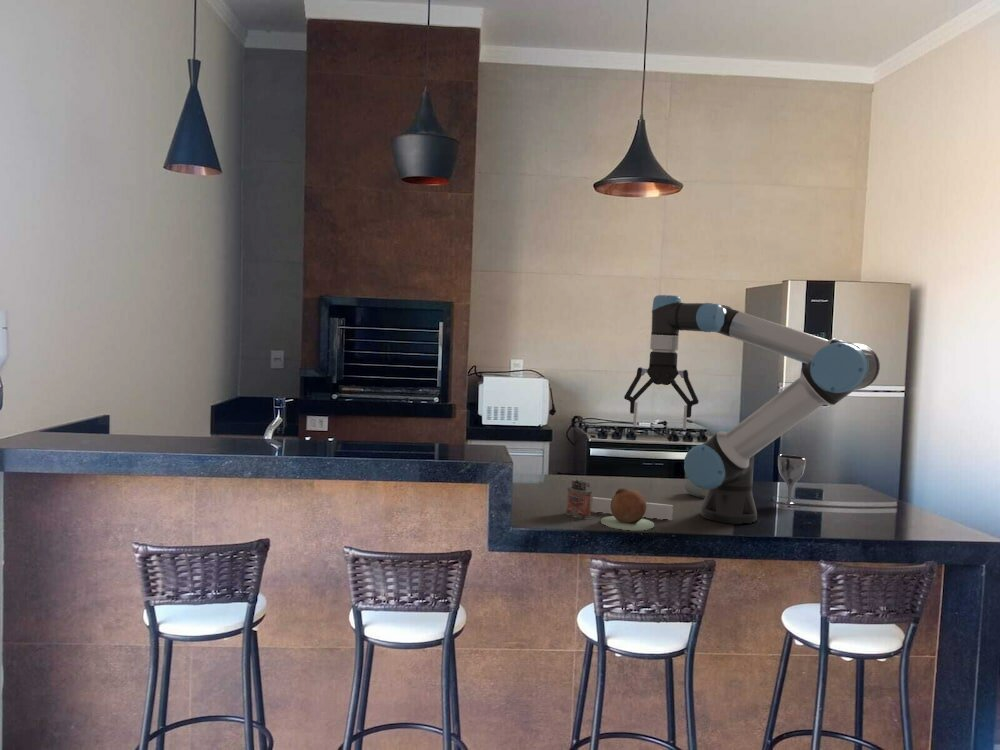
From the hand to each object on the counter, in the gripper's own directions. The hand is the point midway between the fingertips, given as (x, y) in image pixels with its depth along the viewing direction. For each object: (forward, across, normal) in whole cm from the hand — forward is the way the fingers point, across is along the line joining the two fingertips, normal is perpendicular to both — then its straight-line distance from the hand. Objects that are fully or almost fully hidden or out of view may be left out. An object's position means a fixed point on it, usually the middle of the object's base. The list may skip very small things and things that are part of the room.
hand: (659, 427), depth 220 cm
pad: (+25, +6, +14) cm, 29 cm away
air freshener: (+25, -12, -33) cm, 43 cm away
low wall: (+25, +6, +4) cm, 26 cm away
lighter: (+25, +20, +11) cm, 34 cm away
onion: (+24, +6, +14) cm, 29 cm away
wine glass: (+25, -38, -32) cm, 56 cm away
